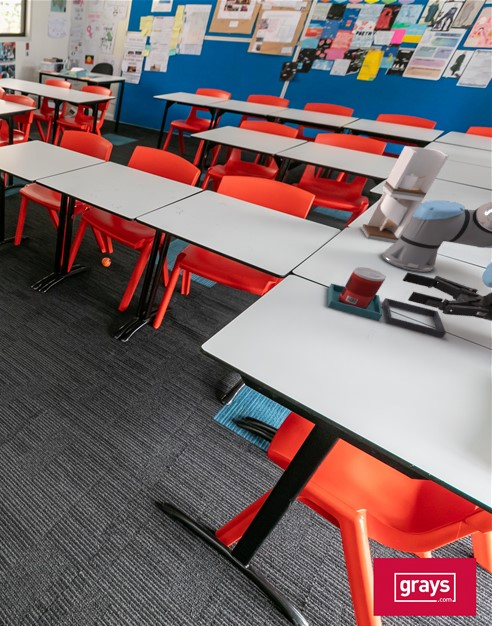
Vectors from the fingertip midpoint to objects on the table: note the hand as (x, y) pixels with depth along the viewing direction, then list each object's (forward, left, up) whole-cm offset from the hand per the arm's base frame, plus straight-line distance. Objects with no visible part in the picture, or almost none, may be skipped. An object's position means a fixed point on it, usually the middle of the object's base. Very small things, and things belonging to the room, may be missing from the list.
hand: (407, 285), depth 123 cm
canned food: (0, -10, -10) cm, 14 cm away
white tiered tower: (-74, +2, -10) cm, 74 cm away
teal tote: (0, -10, -10) cm, 14 cm away
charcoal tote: (0, +5, -10) cm, 11 cm away
